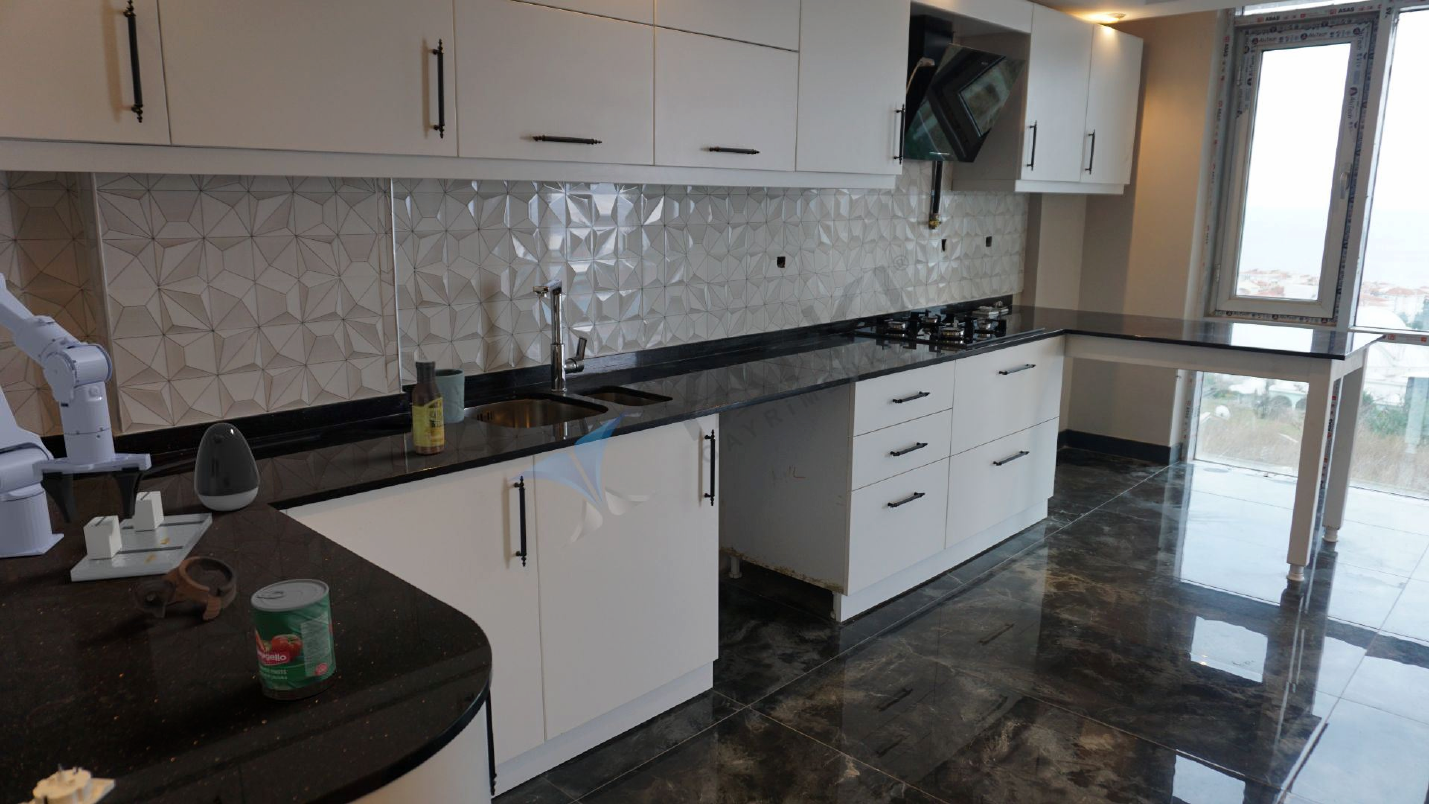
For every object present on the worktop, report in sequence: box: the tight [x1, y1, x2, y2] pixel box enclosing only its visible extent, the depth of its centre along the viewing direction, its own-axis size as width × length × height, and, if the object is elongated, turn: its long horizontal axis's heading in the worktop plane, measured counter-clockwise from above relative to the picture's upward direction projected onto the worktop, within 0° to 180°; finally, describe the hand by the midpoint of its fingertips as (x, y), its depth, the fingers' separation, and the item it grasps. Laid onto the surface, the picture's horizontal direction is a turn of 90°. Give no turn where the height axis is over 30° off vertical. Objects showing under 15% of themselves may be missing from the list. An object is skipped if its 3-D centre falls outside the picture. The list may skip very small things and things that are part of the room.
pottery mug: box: [132, 555, 238, 621], centre depth 121 cm, size 12×10×8 cm
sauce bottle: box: [411, 359, 445, 455], centre depth 197 cm, size 6×6×20 cm
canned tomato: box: [250, 578, 337, 690], centre depth 103 cm, size 8×8×11 cm
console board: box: [70, 512, 213, 582], centre depth 143 cm, size 13×22×2 cm, turn 15°
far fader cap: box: [131, 490, 164, 531], centre depth 148 cm, size 3×4×5 cm
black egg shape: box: [193, 422, 261, 512], centre depth 161 cm, size 10×10×15 cm
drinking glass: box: [435, 367, 465, 425], centre depth 225 cm, size 10×10×12 cm
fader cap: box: [83, 515, 122, 560], centre depth 137 cm, size 3×4×5 cm
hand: (100, 518), depth 136 cm, fingers open, 7 cm apart
